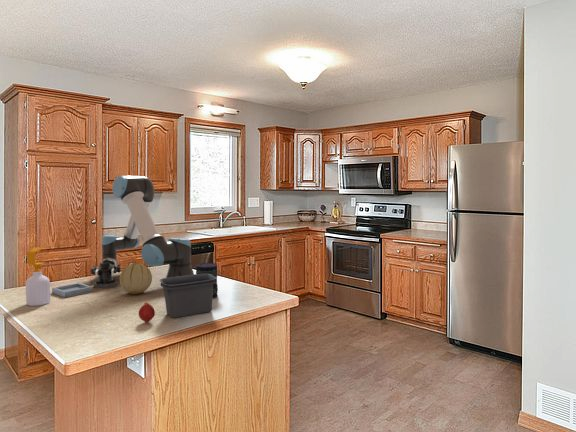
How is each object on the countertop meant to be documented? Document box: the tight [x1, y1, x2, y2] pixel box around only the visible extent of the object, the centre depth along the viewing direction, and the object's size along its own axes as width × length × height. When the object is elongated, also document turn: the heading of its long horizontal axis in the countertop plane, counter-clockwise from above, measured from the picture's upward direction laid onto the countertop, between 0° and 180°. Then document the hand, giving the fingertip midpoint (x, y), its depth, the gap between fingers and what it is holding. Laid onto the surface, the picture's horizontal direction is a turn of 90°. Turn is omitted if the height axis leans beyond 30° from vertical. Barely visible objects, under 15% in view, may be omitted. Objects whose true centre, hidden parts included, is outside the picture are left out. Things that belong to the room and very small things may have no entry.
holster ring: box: [93, 279, 118, 289], centre depth 217 cm, size 11×11×2 cm
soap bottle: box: [25, 246, 51, 307], centre depth 185 cm, size 9×9×25 cm
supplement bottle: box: [97, 261, 114, 284], centre depth 217 cm, size 7×7×12 cm
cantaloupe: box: [119, 261, 153, 295], centre depth 202 cm, size 15×15×15 cm
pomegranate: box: [138, 301, 156, 323], centre depth 160 cm, size 6×6×8 cm
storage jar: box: [195, 262, 219, 300], centre depth 197 cm, size 10×10×15 cm
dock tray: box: [51, 282, 93, 298], centre depth 204 cm, size 13×13×2 cm
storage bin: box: [159, 273, 216, 319], centre depth 173 cm, size 21×16×14 cm
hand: (104, 273), depth 212 cm, fingers closed on supplement bottle, 7 cm apart
